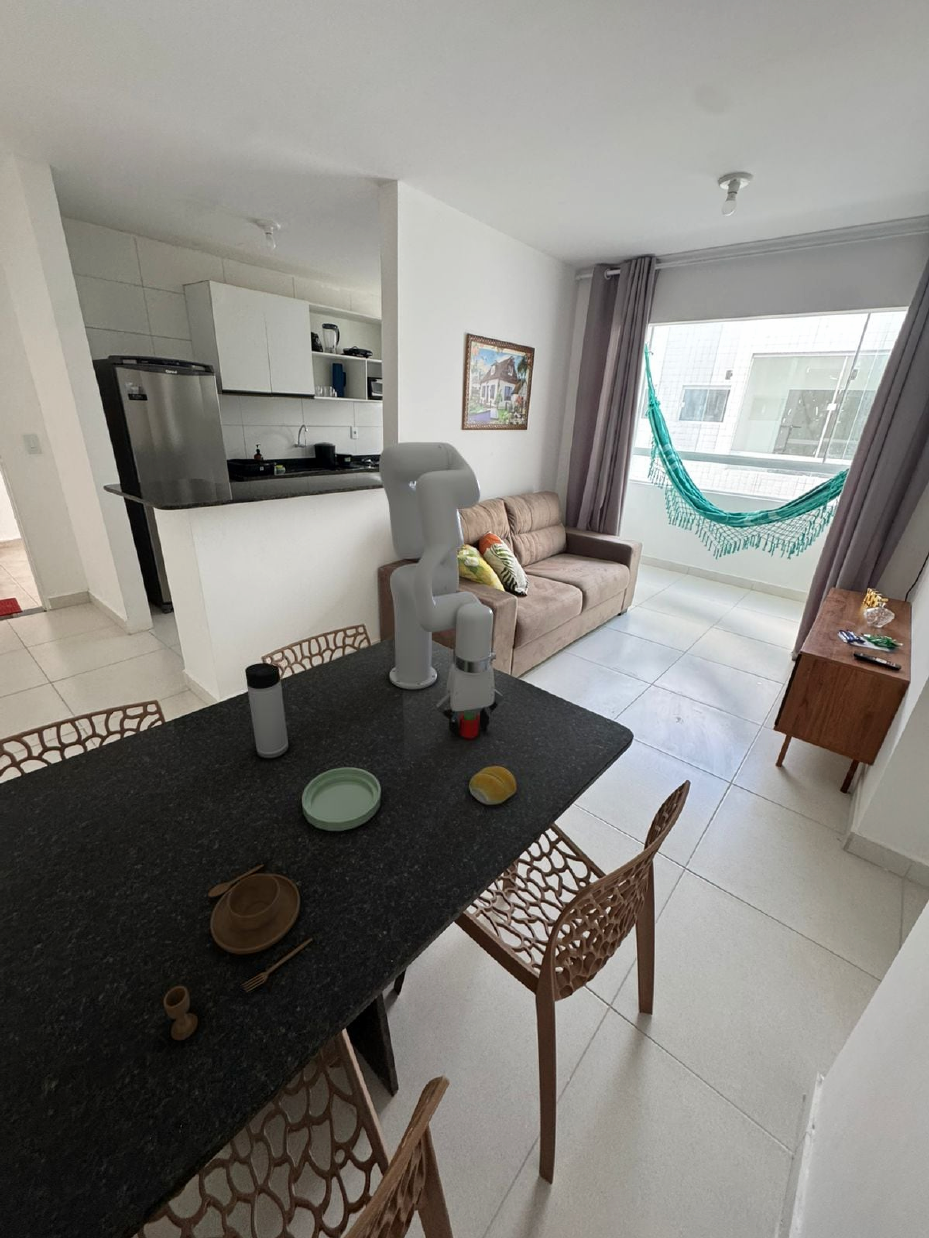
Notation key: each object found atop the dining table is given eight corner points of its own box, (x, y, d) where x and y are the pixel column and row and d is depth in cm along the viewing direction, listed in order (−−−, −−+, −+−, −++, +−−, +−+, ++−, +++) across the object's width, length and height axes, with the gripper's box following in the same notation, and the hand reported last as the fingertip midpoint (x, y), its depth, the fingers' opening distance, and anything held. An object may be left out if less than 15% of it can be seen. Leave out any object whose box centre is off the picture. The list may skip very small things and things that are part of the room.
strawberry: (456, 728, 118) (457, 711, 116) (474, 725, 119) (475, 708, 117) (462, 739, 114) (463, 722, 112) (481, 736, 115) (482, 719, 113)
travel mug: (249, 754, 106) (235, 670, 98) (271, 736, 112) (260, 656, 104) (273, 763, 104) (261, 678, 96) (294, 744, 110) (285, 662, 102)
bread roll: (523, 789, 100) (525, 772, 99) (493, 812, 94) (495, 796, 93) (491, 768, 105) (492, 752, 104) (461, 789, 99) (462, 773, 98)
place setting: (328, 931, 72) (325, 902, 70) (178, 1050, 59) (168, 1019, 56) (267, 858, 83) (263, 831, 81) (128, 944, 69) (118, 915, 67)
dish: (300, 786, 98) (299, 775, 97) (373, 771, 103) (373, 761, 102) (306, 841, 86) (304, 830, 85) (387, 822, 91) (387, 811, 90)
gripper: (502, 648, 115) (497, 715, 122) (428, 657, 109) (427, 727, 117) (516, 663, 109) (510, 733, 116) (438, 674, 103) (437, 747, 110)
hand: (468, 729), depth 116 cm, fingers open, 6 cm apart
